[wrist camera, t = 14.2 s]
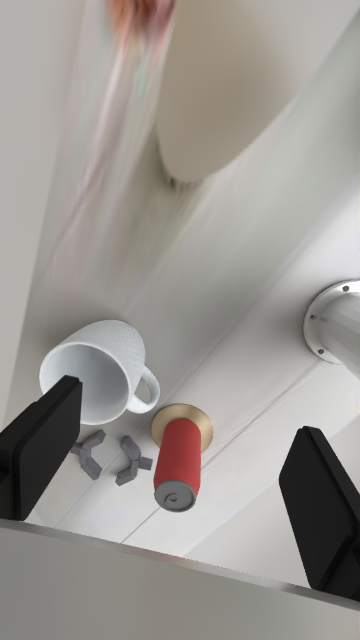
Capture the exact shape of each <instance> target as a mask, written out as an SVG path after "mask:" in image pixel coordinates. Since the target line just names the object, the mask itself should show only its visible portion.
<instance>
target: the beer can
mask: <svg viewBox="0 0 360 640" xmlns="http://www.w3.org/2000/svg"><path fill="white" fill-rule="evenodd" d="M200 471H201V431H200V429H199V428H198V426H197V425H196V424H195V423H194V422H192V421H190V420H187V419H175V420H172V421H171V422H169V423H168V424H167V425H166V427H165V429H164V433H163V438H162V442H161V447H160V452H159V456H158V461H157V466H156V470H155V475H154V489H155V493H154V496H155V500H156V501H157V503H158V504H159V505H160V506H161V507H162V508H164V509H166V510H168V511H171V512H184V511H187V510H189V509H190V508H192V507H193V505H194V504H195V501H196V497H197V494H198V491H199V488H200Z"/></svg>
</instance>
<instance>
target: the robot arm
mask: <svg viewBox="0 0 360 640" xmlns="http://www.w3.org/2000/svg"><path fill="white" fill-rule="evenodd" d="M343 287H344V288H343ZM342 288H343V289H342ZM311 315H313V316H312V317H311ZM303 332H304V337H305V340H306V342H307V344H308V346H309V347H310V348H311V350H312V351H313V352H314V353H315V354H316V355H317V356H318V357H320V358H322V359H323V360H325V361H327V362H330V363H333V364H338V365H344V366H345V367H347V368H348V369H349V370H350V371H351V372H352V373H353V374H354V375H355V376H356V377H357V378H359V379H360V280H348V281H343V282H340V283H337V284H335V285H333V286H331V287H329V288H327V289H326V290H324V291H323V292H322V293H321V294H319V295H318V296H317V297H316V298H315V300H314V301H313V302H312V303H311V305H310V306H309V308H308V310H307V312H306V315H305V318H304V323H303ZM319 349H320V350H319ZM82 389H83V383H82V382H81V381H79V378H78V377H74V376H69V375H64V376H63V377H62V378H61V379H60V380H59V381H58V382H57V383H56V384H55V385H54V386H53V387H52V388H50V389H49V390H48V391H47V392H46V393H45V394H44V395H43V396H42V397H41V398H40V399H39V400H38V401H37V402H33V403H32V404H30V405H29V406H28V407H27V408H26V409H25V410H24V411H23V412H22V413H21V414H20V415H19V416H18V417H17V418H16V419H14V420H13V421H12V422H11V423H10V424H9V425H8V426H7V427H6V428H5V429H4V430H3V431H2V432H1V433H0V640H360V494H359V492H358V491H357V489H356V488H355V486H354V484H353V483H352V481H351V479H350V478H349V476H348V474H347V473H346V471H345V469H344V468H343V466H342V464H341V463H340V461H339V459H338V458H337V456H336V454H335V453H334V451H333V449H332V448H331V446H330V444H329V443H328V441H327V439H326V438H325V436H324V434H323V433H322V431H321V430H320V429H318V428H314V427H309V426H303V427H302V429H301V428H299V429H298V431H297V433H296V436H295V438H294V441H293V443H292V445H291V448H290V450H289V453H288V455H287V458H286V460H285V463H284V465H283V468H282V470H281V472H280V475H279V485H280V489H281V492H282V496H283V499H284V502H285V506H286V509H287V512H288V516H289V519H290V522H291V525H292V529H293V532H294V536H295V539H296V542H297V545H298V549H299V552H300V556H301V559H302V562H303V566H304V569H305V572H306V576H307V579H308V582H309V585H310V587H311V588H312V589H310V588H306V587H302V586H298V585H294V584H290V583H286V582H281V581H277V580H273V579H269V578H265V577H261V576H257V575H252V574H248V573H244V572H240V571H236V570H231V569H227V568H223V567H219V566H215V565H211V564H206V563H202V562H198V561H194V560H189V559H185V558H181V557H177V556H172V555H168V554H164V553H160V552H155V551H151V550H147V549H142V548H138V547H134V546H129V545H125V544H121V543H116V542H112V541H107V540H103V539H99V538H94V537H90V536H86V535H81V534H77V533H72V532H68V531H63V530H59V529H54V528H49V527H44V526H39V525H34V524H29V523H25V522H20V521H24V520H25V519H26V518H27V517H28V515H29V514H30V512H31V511H32V509H33V508H34V506H35V505H36V503H37V501H38V500H39V498H40V497H41V495H42V494H43V492H44V490H45V489H46V487H47V486H48V484H49V483H50V481H51V480H52V478H53V476H54V475H55V473H56V472H57V470H58V469H59V467H60V465H61V464H62V462H63V461H64V459H65V458H66V456H67V454H68V453H69V451H70V450H71V448H72V447H73V445H74V444H75V442H76V440H77V438H78V436H79V432H80V420H81V404H82Z"/></svg>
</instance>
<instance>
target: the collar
mask: <svg viewBox="0 0 360 640" xmlns="http://www.w3.org/2000/svg"><path fill="white" fill-rule="evenodd" d="M105 435H106V434H105V433H104V432H103V430H101V431H99V432H97V433H95V434H93V435H92V436H90V437H88V438H87V439H86V440H85V442H84V444H80V443H75V444H74V445H73V447H72V448H71V452H70V453H74V454H79V455H80V464H81V468H82V469H83V470H84V471H85V472H86V473H87V474H88V475H89V476H90V477H91V478H92V479H93V480H95V479H98V477H99V475H100V473H101V471H102V468H101V467H100V466H99V465H98V464H97V463H96V462H95V461H94V460H93V459H92V457H91V456H90V455H91V448H93V447H94V446H96V445H98V444H100V443H102V441H103V439H104V437H105ZM120 447H121V448H122V450H123V451H124V452H125V453H126V454H127V455H128V456H129V458H130V459H131V460H132V465H131V467H129V468H127V469H125V470H123V471H121V472H119V473H118V476H117V478H116V481H115V482H116V483H117V485H118V486H121V485H123V484H125V483H127V482H129V481H131V480H133V479H135V477H136V476H137V472H138V469H139V468H141V469H146V470H151V466H152V461H153V460H152V459H147V458H143V457H141V452H140V449H139V448H138V446H137V445H136V444H135V443H134V442H133V441H132V439H131V438H130V437H129V436H126V437H125V438H123V440H122V442H121V445H120Z"/></svg>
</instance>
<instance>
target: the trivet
mask: <svg viewBox="0 0 360 640" xmlns="http://www.w3.org/2000/svg"><path fill="white" fill-rule="evenodd" d="M175 419H187V420H190V421H192V422H194V423H195V424H196V425H197V426H198V428H199V429H200V431H201V453H202V452H203V451H205V450H206V449H207V448H208V447H209V445H210V444H211V442H212V439H213V427H212V423H211V421H210V419H209V418H208V416H207V415H206V414H205V413H204V412H202V411H201V410H200V409H198V408H196V407H194V406H191V405H186V404H174V405H170V406H167V407H165V408H163V409H161V410H160V411H159V412H158V413H157V414H156V416H155V417H154V419H153V422H152V426H151V433H152V437H153V439H154V441H155V443H156V444H157V445H158V446H159V447H161V442H162V438H163V433H164V429H165V427H166V425H167V424H168V423H169V422H171V421H172V420H175Z"/></svg>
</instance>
